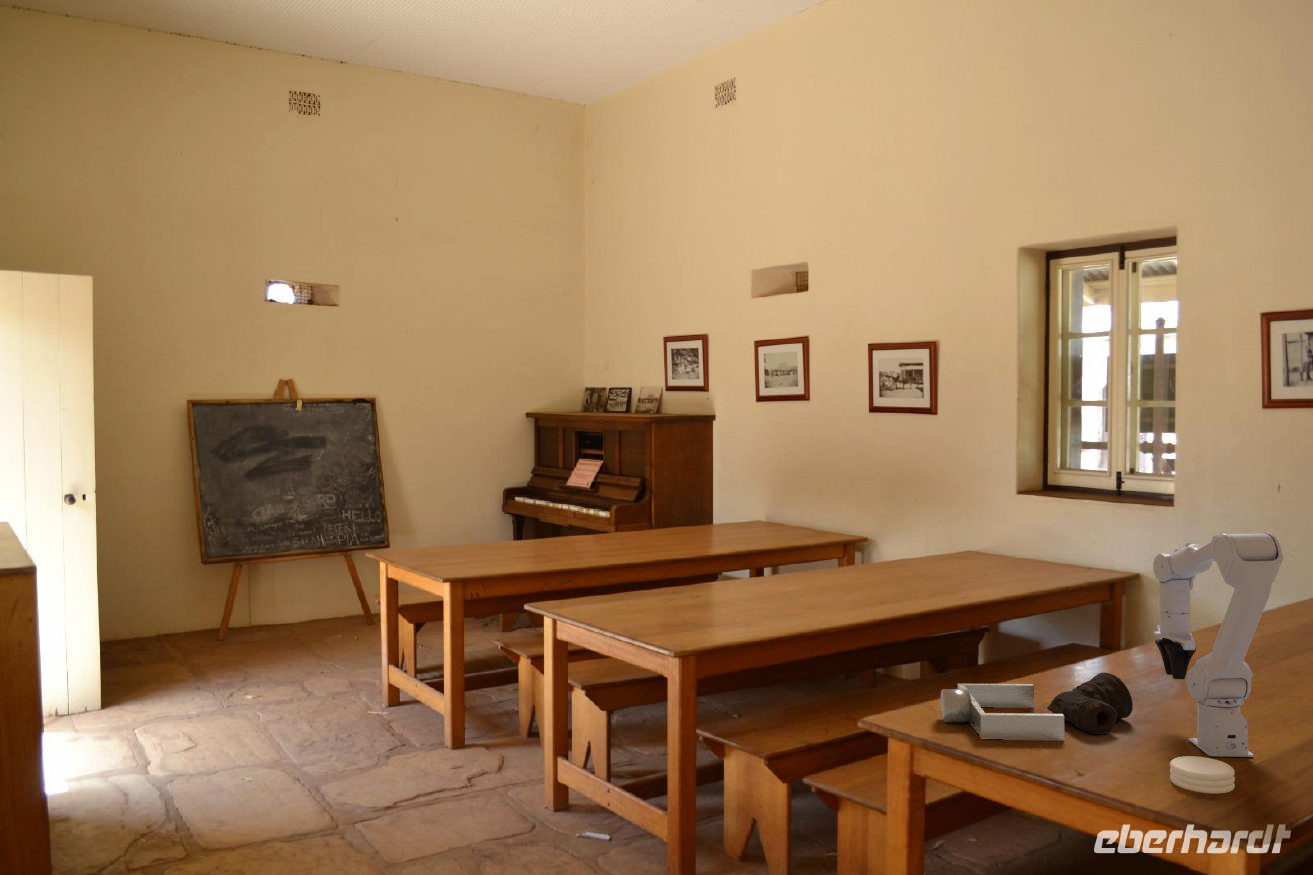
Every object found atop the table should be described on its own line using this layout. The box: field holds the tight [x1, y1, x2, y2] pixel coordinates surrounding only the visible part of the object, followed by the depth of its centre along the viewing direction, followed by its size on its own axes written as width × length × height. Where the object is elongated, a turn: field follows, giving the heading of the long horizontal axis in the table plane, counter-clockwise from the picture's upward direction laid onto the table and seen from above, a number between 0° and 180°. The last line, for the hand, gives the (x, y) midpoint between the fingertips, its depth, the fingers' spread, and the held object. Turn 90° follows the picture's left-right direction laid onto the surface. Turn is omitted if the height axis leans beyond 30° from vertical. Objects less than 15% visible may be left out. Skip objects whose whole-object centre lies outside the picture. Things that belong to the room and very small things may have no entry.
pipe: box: [1047, 672, 1134, 735], centre depth 212 cm, size 10×15×15 cm
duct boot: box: [940, 683, 1065, 742], centre depth 214 cm, size 23×21×7 cm
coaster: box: [1169, 755, 1236, 795], centre depth 177 cm, size 10×10×4 cm
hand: (1175, 676), depth 210 cm, fingers open, 3 cm apart
